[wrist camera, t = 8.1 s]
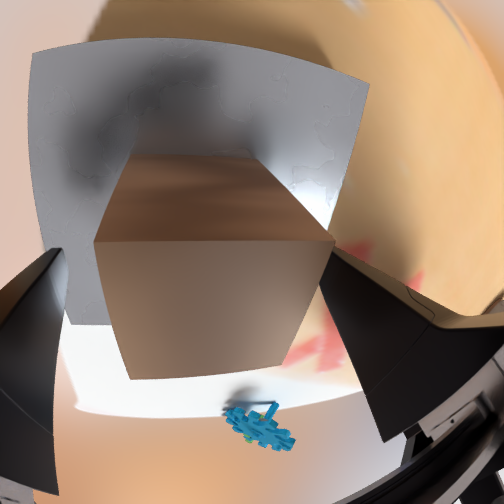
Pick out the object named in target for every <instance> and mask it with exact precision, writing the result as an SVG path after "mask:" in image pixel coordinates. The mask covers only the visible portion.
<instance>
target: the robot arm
mask: <svg viewBox="0 0 504 504" xmlns="http://www.w3.org/2000/svg"><path fill="white" fill-rule="evenodd" d="M68 276H69V270H68V265H67V261H66V257H65V253H64V250H63V249H62V248H51V249H49V250H48V251H47V252H45V253H44V254H43V255H41V256H40V257H39V258H38V259H36V260H35V261H34V262H33V263H31V264H30V265H29V266H28V267H26V268H25V269H24V270H23V271H22V272H20V273H19V274H18V275H17V276H16V277H15V278H13V279H12V280H11V281H10V282H9V283H8V284H7V285H5V286H4V287H3V288H2V289H1V290H0V504H36V503H35V502H34V499H33V490H32V489H34V490H38V491H42V492H45V493H49V494H53V495H57V496H59V490H58V483H57V476H56V467H55V455H54V436H53V401H54V384H55V372H56V362H57V354H58V347H59V340H60V334H61V328H62V322H63V316H64V309H65V299H66V290H67V283H68ZM319 285H320V288H321V291H322V294H323V297H324V300H325V302H326V305H327V307H328V309H329V311H330V313H331V316H332V318H333V320H334V322H335V325H336V327H337V329H338V331H339V334H340V336H341V338H342V341H343V343H344V345H345V348H346V350H347V352H348V355H349V357H350V359H351V362H352V364H353V367H354V369H355V371H356V374H357V376H358V379H359V381H360V384H361V386H362V389H363V391H364V394H365V395H366V399H367V401H368V404H369V407H370V409H371V412H372V414H373V417H374V419H375V422H376V425H377V428H378V430H379V433H380V436H381V438H382V441H383V442H384V443H385V442H387V441H389V440H390V439H392V438H394V437H396V436H397V435H399V434H400V433H402V432H403V433H404V435H405V436H406V438H407V441H406V445H405V450H404V454H403V458H402V462H401V466H400V467H399V468H397V469H396V470H394V471H393V472H391V473H389V474H388V475H386V476H384V477H383V478H381V479H379V480H378V481H376V482H374V483H373V484H371V485H369V486H367V487H365V488H364V489H362V490H360V491H358V492H356V493H354V494H352V495H350V496H348V497H346V498H344V499H342V500H340V501H337V502H335V503H333V504H454V502H456V501H457V499H458V498H459V499H460V501H461V503H462V504H504V485H503V482H502V480H501V478H500V475H499V474H498V471H499V470H501V469H502V468H504V312H500V313H493V314H485V315H477V316H463V315H460V314H457V313H455V312H453V311H451V310H450V309H448V308H446V307H444V306H442V305H440V304H438V303H436V302H435V301H433V300H431V299H429V298H427V297H425V296H423V295H422V294H420V293H418V292H416V291H415V290H413V289H411V288H409V287H408V286H405V285H404V284H402V283H401V282H399V281H397V280H395V279H394V278H392V277H390V276H388V275H387V274H385V273H383V272H381V271H379V270H378V269H376V268H374V267H372V266H370V265H369V264H367V263H365V262H363V261H361V260H359V259H358V258H356V257H354V256H352V255H350V254H348V253H346V252H345V251H343V250H341V249H339V248H337V247H335V246H334V247H333V249H332V252H331V254H330V257H329V259H328V262H327V264H326V267H325V269H324V272H323V274H322V277H321V279H320V282H319Z"/></svg>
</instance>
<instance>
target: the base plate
mask: <svg viewBox="0 0 504 504" xmlns="http://www.w3.org/2000/svg"><path fill="white" fill-rule="evenodd" d="M369 85H370V84H368V83H366V82H363V81H361V80H359V79H356V78H354V77H351V76H349V75H346V74H344V73H341V72H338V71H336V70H333V69H330V68H327V67H324V66H321V65H318V64H315V63H312V62H309V61H305V60H302V59H299V58H295V57H291V56H288V55H284V54H280V53H276V52H272V51H267V50H263V49H258V48H253V47H248V46H242V45H236V44H230V43H223V42H215V41H206V40H196V39H181V38H125V39H111V40H101V41H92V42H85V43H78V44H73V45H67V46H62V47H57V48H52V49H48V50H44V51H40V52H36V53H33V55H32V62H31V71H30V81H29V95H28V144H29V158H30V169H31V178H32V186H33V193H34V199H35V205H36V210H37V216H38V220H39V225H40V230H41V234H42V238H43V242H44V246H45V250H46V252H47V251H48V250H49V249H51V248H62V249H63V250H64V253H65V257H66V261H67V265H68V270H69V276H68V283H67V290H66V299H65V310H66V313H67V315H68V318H69V320H70V323H71V324H73V325H112V324H111V321H110V317H109V313H108V310H107V306H106V302H105V298H104V294H103V290H102V285H101V281H100V276H99V271H98V266H97V261H96V256H95V250H94V244H93V242H94V239H95V236H96V233H97V230H98V228H99V225H100V222H101V220H102V217H103V215H104V212H105V210H106V207H107V205H108V202H109V200H110V198H111V195H112V193H113V191H114V189H115V186H116V184H117V182H118V180H119V178H120V175H121V173H122V171H123V169H124V167H125V165H126V163H127V161H128V159H129V157H130V155H131V154H181V155H205V156H221V157H235V158H246V159H257V160H259V161H260V162H261V163H262V164H263V165H264V166H265V167H266V168H267V169H268V170H269V171H270V172H271V173H272V174H273V175H274V176H275V177H276V178H277V179H278V180H279V181H280V182H281V183H282V184H283V185H284V186H285V187H286V188H287V189H288V190H289V191H290V192H291V193H292V194H293V195H294V196H295V197H296V198H297V199H298V201H299V202H300V203H301V204H302V205H303V206H304V207H305V208H306V209H307V210H308V211H309V212H310V213H311V214H312V215H313V216H314V217H315V219H316V220H317V221H318V222H319V223H320V224H321V225H322V226H323V227H324V228H325V229H326V231H327V229H328V226H329V223H330V220H331V217H332V214H333V211H334V208H335V205H336V202H337V199H338V196H339V193H340V190H341V187H342V183H343V180H344V177H345V174H346V171H347V167H348V164H349V160H350V157H351V154H352V150H353V147H354V143H355V140H356V136H357V132H358V129H359V125H360V121H361V117H362V113H363V109H364V105H365V101H366V97H367V93H368V89H369Z"/></svg>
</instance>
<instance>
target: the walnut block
mask: <svg viewBox="0 0 504 504" xmlns="http://www.w3.org/2000/svg"><path fill="white" fill-rule="evenodd" d="M93 244H94V250H95V256H96V261H97V266H98V271H99V276H100V281H101V285H102V290H103V294H104V298H105V302H106V306H107V310H108V313H109V317H110V321H111V324H112V328H113V331H114V334H115V337H116V341H117V344H118V347H119V350H120V353H121V356H122V359H123V361H124V364H125V367H126V370H127V372H128V375H129V378H130V380H138V379H168V378H184V377H197V376H207V375H217V374H226V373H234V372H241V371H248V370H255V369H261V368H267V367H273V366H278V365H282V363H283V361H284V358H285V356H286V354H287V352H288V350H289V348H290V346H291V344H292V342H293V340H294V338H295V336H296V334H297V331H298V329H299V327H300V325H301V323H302V321H303V318H304V316H305V314H306V312H307V309H308V307H309V305H310V303H311V300H312V298H313V296H314V293H315V291H316V289H317V286H318V284H319V282H320V279H321V277H322V274H323V272H324V269H325V267H326V264H327V262H328V259H329V257H330V254H331V252H332V249H333V247H334V244H335V239H334V238H333V237H332V236H331V235H330V234H329V233H328V232H327V231H326V229H325V228H324V227H323V226H322V225H321V224H320V223H319V222H318V221H317V220H316V219H315V217H314V216H313V215H312V214H311V213H310V212H309V211H308V210H307V209H306V208H305V207H304V206H303V205H302V204H301V203H300V202H299V201H298V199H297V198H296V197H295V196H294V195H293V194H292V193H291V192H290V191H289V190H288V189H287V188H286V187H285V186H284V185H283V184H282V183H281V182H280V181H279V180H278V179H277V178H276V177H275V176H274V175H273V174H272V173H271V172H270V171H269V170H268V169H267V168H266V167H265V166H264V165H263V164H262V163H261V162H260V161H259V160H257V159H246V158H235V157H221V156H205V155H181V154H131V155H130V157H129V159H128V161H127V163H126V165H125V167H124V169H123V171H122V173H121V175H120V178H119V180H118V182H117V184H116V186H115V189H114V191H113V193H112V195H111V198H110V200H109V202H108V205H107V207H106V210H105V212H104V215H103V217H102V220H101V222H100V225H99V228H98V230H97V233H96V236H95V239H94V242H93Z"/></svg>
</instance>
